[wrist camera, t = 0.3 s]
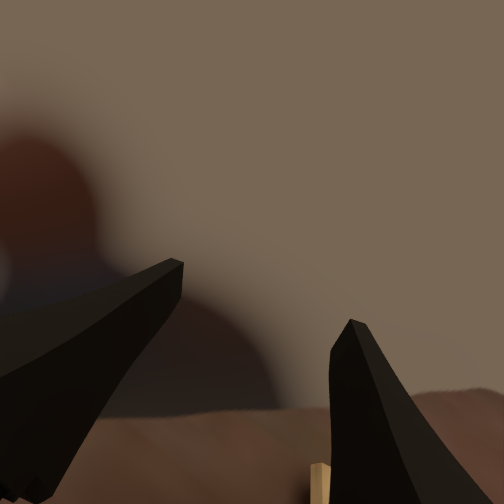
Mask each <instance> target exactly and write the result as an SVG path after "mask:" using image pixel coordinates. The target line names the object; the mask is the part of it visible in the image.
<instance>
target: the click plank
mask: <svg viewBox="0 0 504 504" xmlns="http://www.w3.org/2000/svg"><path fill="white" fill-rule="evenodd" d="M330 474H331V467H329V466H327V465H326V464H324V463H322V462H321V463H317V464H312V465H311V504H329V492H330Z"/></svg>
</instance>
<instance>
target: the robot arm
mask: <svg viewBox="0 0 504 504" xmlns="http://www.w3.org/2000/svg"><path fill="white" fill-rule="evenodd" d="M183 266H184V262H181V261H178V260H175V259H172V258H170V259H167V260H165V261H163V262H161V263H158V264H156V265H154V266H152V267H150V268H148V269H146V270H143V271H141V272H139V273H137V274H134V275H132V276H130V277H128V278H125V279H123V280H121V281H118V282H115V283H113V284H111V285H108V286H105V287H103V288H100V289H98V290H95V291H92V292H90V293H87V294H84V295H81V296H78V297H75V298H71V299H69V300H65V301H62V302H58V303H55V304H51V305H47V306H43V307H40V308H36V309H32V310H28V311H24V312H20V313H16V314H11V315H7V316H2V317H0V500H1V499H2V498H4V499H6V500H8V501H10V502H13V503H14V502H15V501H17V499H18V498H19V497H20V498H22V499H25V500H27V501H29V502H31V503H33V504H39V503H41V502H43V501H45V500H47V499H49V498H50V497H52V496H53V494H54V492H55V490H56V488H57V487H58V485H59V483H60V481H61V479H62V478H63V476H64V474H65V472H66V471H67V469H68V467H69V465H70V464H71V462H72V460H73V458H74V456H75V455H76V453H77V451H78V449H79V448H80V446H81V444H82V443H83V441H84V439H85V438H86V436H87V434H88V433H89V431H90V429H91V428H92V426H93V424H94V423H95V421H96V419H97V418H98V416H99V414H100V413H101V411H102V410H103V408H104V406H105V405H106V403H107V401H108V400H109V398H110V397H111V395H112V394H113V392H114V391H115V389H116V387H117V386H118V384H119V383H120V381H121V380H122V378H123V377H124V375H125V374H126V372H127V371H128V369H129V368H130V366H131V365H132V364H133V362H134V361H135V360H136V358H137V357H138V356H139V355H140V353H141V352H142V351H143V350H144V348H145V347H146V346H147V345H148V343H149V342H150V341H151V339H152V338H153V337H154V336H155V334H156V333H157V332H158V331H159V329H160V328H161V327H162V325H163V324H164V323H165V322H166V320H167V319H168V318H169V316H170V315H171V313H172V311H173V310H174V308H175V307H176V305H177V303H178V302H179V300H180V298H181V292H182V278H183ZM329 394H330V396H329V397H330V417H331V447H332V451H331V474H330V492H329V504H493V503H492V501H491V500H490V499H489V498H488V497H487V496H486V495H485V493H484V492H483V491H482V490H481V489H480V488H479V486H478V485H477V484H476V483H475V482H474V480H473V479H472V478H471V477H470V476H469V474H468V473H467V472H466V471H465V470H464V468H463V467H462V466H461V465H460V464H459V462H458V461H457V460H456V459H455V457H454V456H453V455H452V454H451V452H450V451H449V450H448V449H447V447H446V446H445V445H444V443H443V442H442V441H441V439H440V438H439V437H438V435H437V434H436V433H435V431H434V430H433V429H432V427H431V426H430V425H429V423H428V422H427V421H426V419H425V418H424V416H423V415H422V414H421V412H420V411H419V409H418V408H417V406H416V405H415V403H414V402H413V400H412V399H411V398H410V396H409V395H408V393H407V392H406V390H405V389H404V387H403V385H402V384H401V382H400V381H399V379H398V378H397V376H396V375H395V373H394V371H393V369H392V368H391V366H390V364H389V363H388V361H387V360H386V358H385V356H384V354H383V353H382V351H381V349H380V347H379V346H378V344H377V343H376V341H375V339H374V337H373V336H372V334H371V332H370V330H369V329H368V327H367V325H366V324H365V323H362V322H359V321H356V320H353V319H350V320H349V322H348V323H347V325H346V326H345V328H344V330H343V331H342V333H341V334H340V336H339V338H338V339H337V341H336V342H335V344H334V346H333V347H332V349H331V352H330V364H329Z"/></svg>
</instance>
